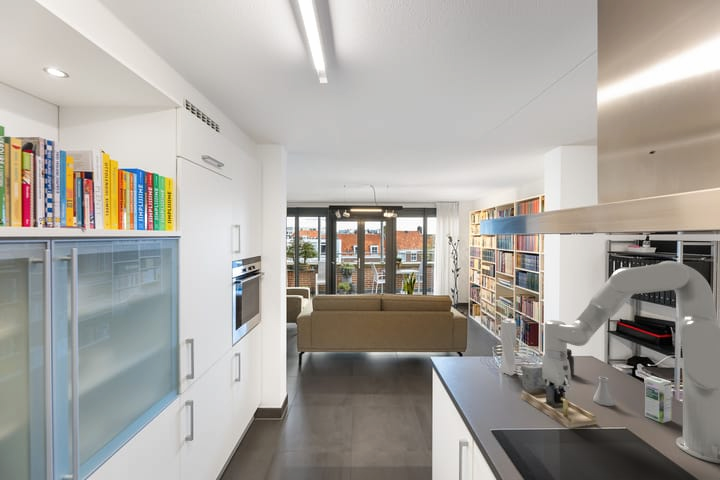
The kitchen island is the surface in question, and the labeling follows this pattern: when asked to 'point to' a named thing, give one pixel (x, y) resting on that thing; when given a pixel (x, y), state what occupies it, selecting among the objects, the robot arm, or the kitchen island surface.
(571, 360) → the supplement bottle
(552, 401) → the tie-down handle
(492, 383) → the kitchen island surface
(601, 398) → the flask
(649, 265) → the robot arm
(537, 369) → the grey stone block
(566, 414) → the wooden tray
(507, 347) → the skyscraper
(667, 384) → the syrup box
